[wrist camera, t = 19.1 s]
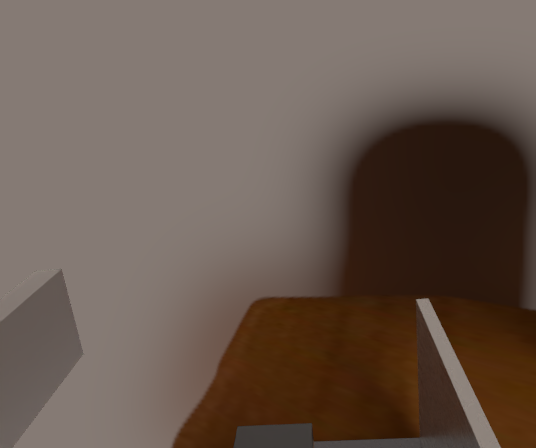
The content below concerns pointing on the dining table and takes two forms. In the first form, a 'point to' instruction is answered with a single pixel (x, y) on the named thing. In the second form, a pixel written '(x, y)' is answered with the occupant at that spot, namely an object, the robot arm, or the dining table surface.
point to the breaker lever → (275, 436)
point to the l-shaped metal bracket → (437, 397)
